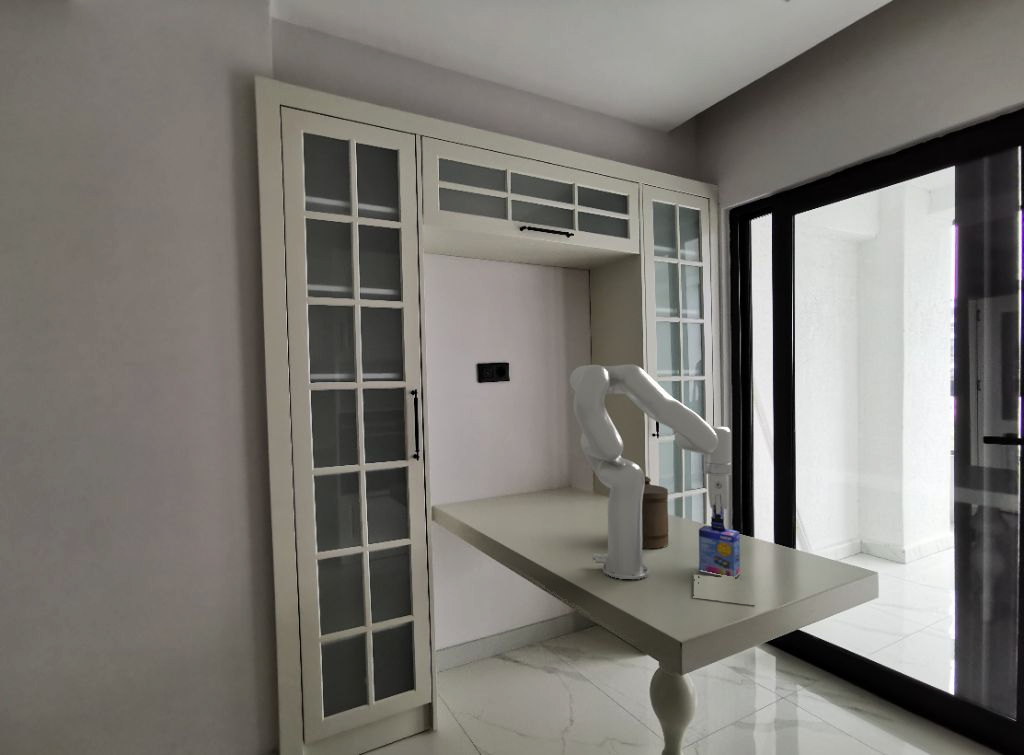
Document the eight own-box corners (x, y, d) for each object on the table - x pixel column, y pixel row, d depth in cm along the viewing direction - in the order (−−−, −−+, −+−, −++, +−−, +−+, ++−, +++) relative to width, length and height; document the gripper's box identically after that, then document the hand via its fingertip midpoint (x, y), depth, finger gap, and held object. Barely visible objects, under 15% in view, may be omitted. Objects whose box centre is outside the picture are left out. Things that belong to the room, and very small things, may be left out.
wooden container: (661, 536, 178) (661, 473, 178) (673, 549, 163) (673, 481, 163) (619, 535, 179) (619, 472, 179) (627, 549, 164) (626, 480, 164)
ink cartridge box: (697, 572, 144) (697, 520, 144) (704, 566, 148) (704, 516, 148) (734, 580, 138) (734, 526, 138) (740, 574, 142) (740, 522, 142)
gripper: (733, 473, 141) (733, 540, 141) (729, 465, 155) (729, 525, 155) (704, 471, 144) (704, 537, 143) (702, 464, 158) (702, 523, 157)
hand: (717, 531), depth 149 cm, fingers closed
